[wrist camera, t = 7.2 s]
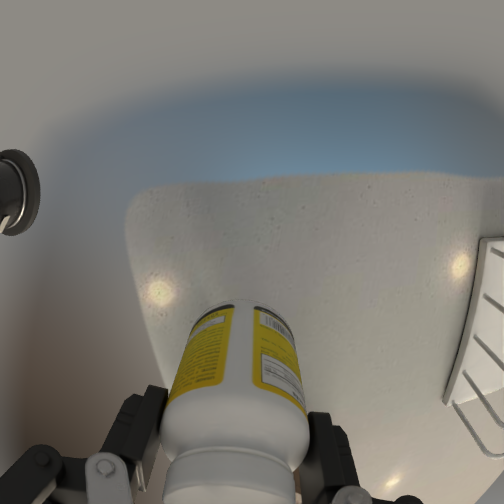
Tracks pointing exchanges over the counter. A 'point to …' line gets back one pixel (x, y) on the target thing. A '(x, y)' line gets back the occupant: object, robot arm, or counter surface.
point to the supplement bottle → (235, 410)
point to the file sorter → (482, 339)
